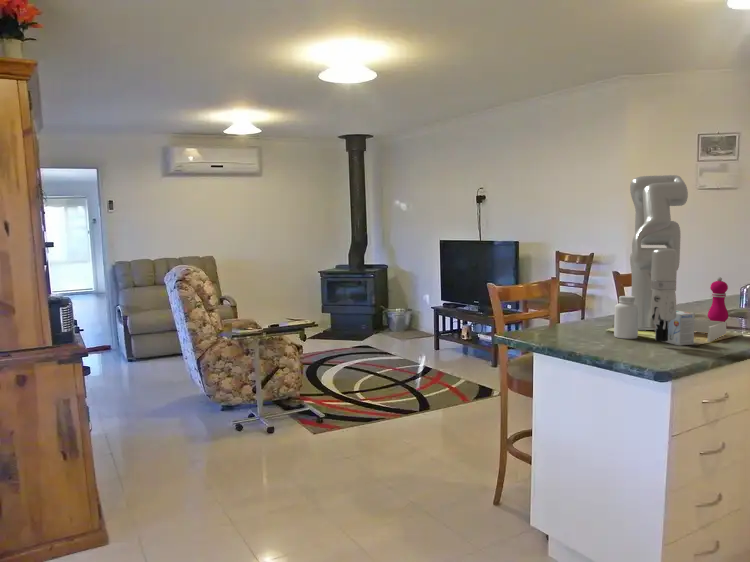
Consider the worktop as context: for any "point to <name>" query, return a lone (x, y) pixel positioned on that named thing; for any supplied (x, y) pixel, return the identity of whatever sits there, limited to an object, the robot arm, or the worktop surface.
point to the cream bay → (710, 328)
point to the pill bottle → (626, 318)
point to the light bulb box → (681, 329)
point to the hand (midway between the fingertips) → (661, 340)
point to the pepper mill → (718, 301)
